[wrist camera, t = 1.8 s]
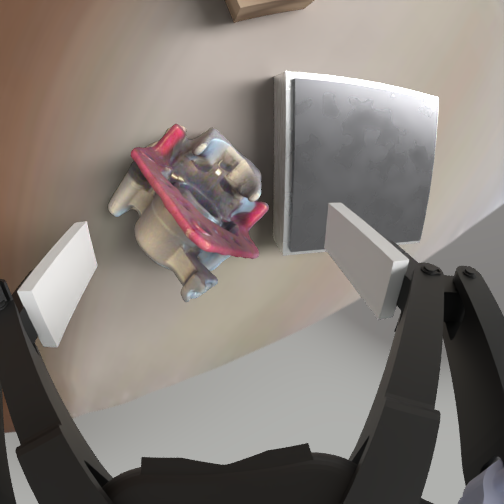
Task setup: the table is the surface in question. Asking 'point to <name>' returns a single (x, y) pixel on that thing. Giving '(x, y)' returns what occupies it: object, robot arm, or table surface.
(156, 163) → the brake caliper
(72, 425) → the robot arm
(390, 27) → the table surface
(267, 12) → the brown rectangular block
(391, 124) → the stand
